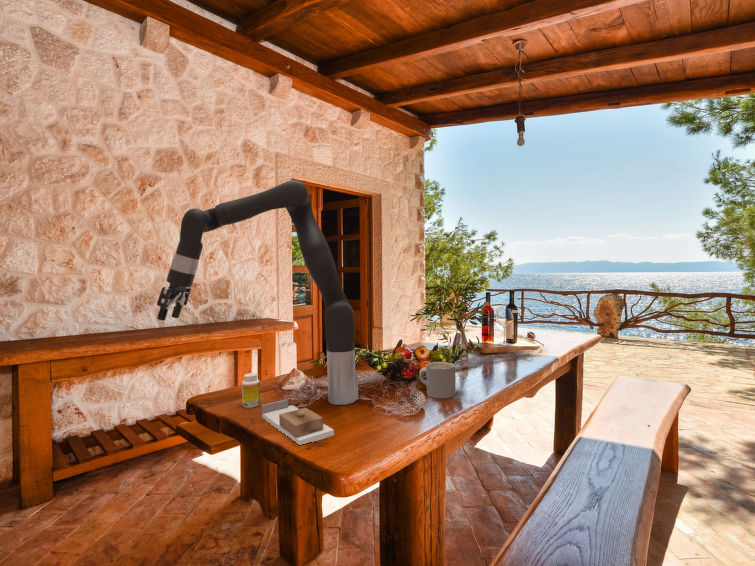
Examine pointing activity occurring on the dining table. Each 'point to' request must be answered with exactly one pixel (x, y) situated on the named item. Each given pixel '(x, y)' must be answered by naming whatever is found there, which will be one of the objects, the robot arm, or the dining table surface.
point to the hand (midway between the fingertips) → (168, 318)
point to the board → (272, 416)
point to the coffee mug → (439, 379)
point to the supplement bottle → (250, 390)
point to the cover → (301, 422)
